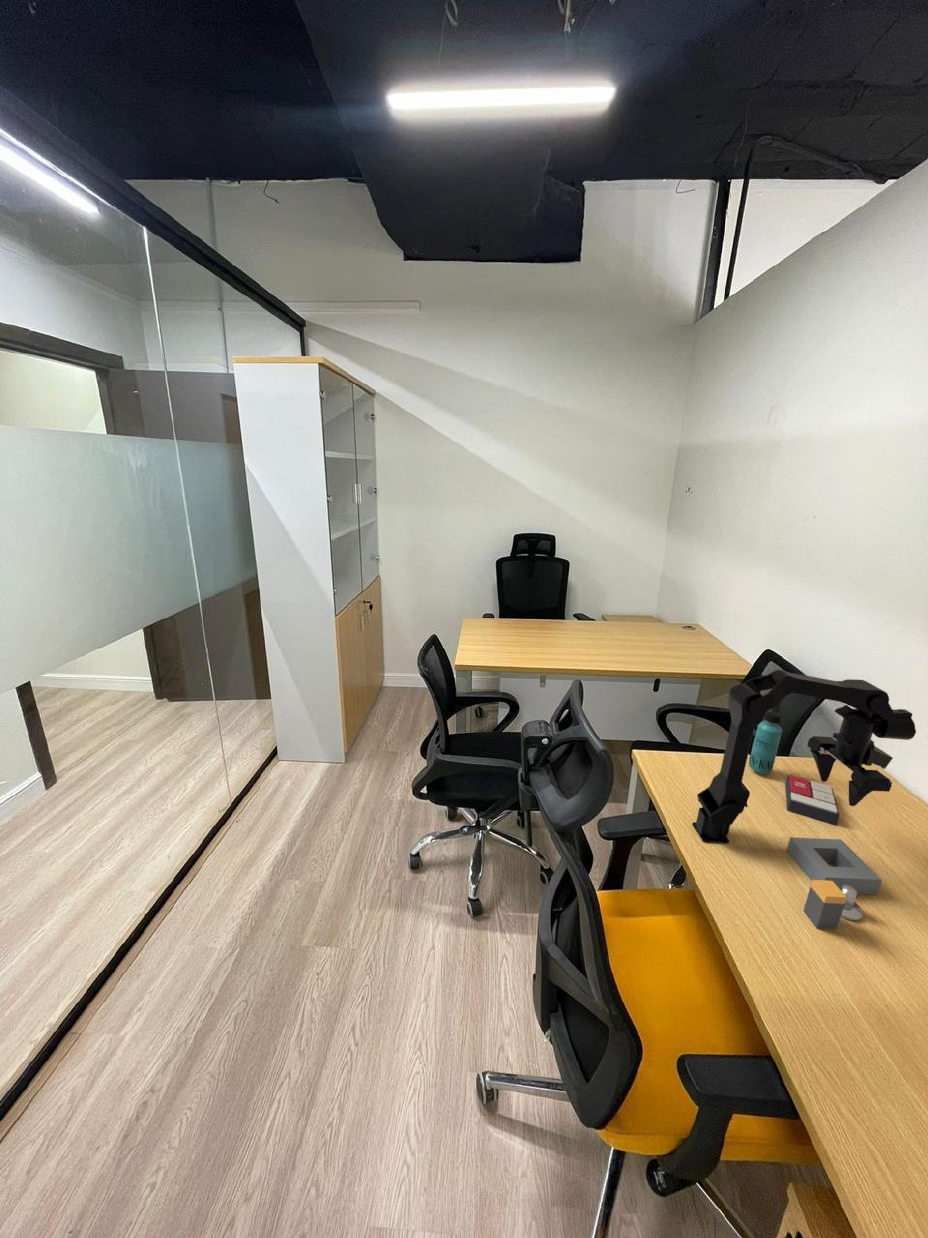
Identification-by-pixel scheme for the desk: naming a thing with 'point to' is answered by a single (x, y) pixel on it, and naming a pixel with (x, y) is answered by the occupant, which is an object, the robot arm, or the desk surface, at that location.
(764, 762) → the beverage bottle
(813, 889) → the block
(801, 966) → the desk surface
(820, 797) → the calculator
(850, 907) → the post
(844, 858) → the frame
